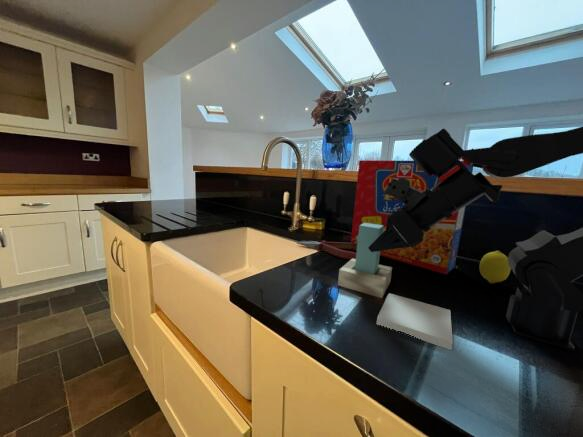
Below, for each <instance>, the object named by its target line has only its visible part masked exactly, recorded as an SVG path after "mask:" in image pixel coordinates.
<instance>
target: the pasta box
mask: <svg viewBox="0 0 583 437" xmlns="http://www.w3.org/2000/svg"><path fill="white" fill-rule="evenodd" d="M459 161H460V162H461V163H462V164H463V165H464V166H465V167H466V168H467V169H468V170H469V171H470V172H471V173H472V174H473V172H474V167H473V166H469V165H467V164H466V163H465V162H464V161H463V160H459ZM459 169H460V168H459V167H458V166H456V167H455V168H453V169H452V170H451V171H449V172H448V173H446V174H445V175H444V176H442V177H440V178H439V179H438V178H437V177H436V176H435V175H433V176H432V177H430V178H429V177H428V176H427V175H426V174H425V173H424V171H423V170H422V169H421V168H420V167H419V166H418V165H417V164H416V163H415V161H414V160H366V159H365V160H363V159H362V160H359V162H358V170H357V171H358V172H357V181H356V188H355V189H356V190H355V198H354V199H355V200H354V208H353V217H352V227H351V237H350V243H354V244H358V235H359V226H360V225H361V224H363V223H370V224H377V225H383V226H384V227H383V232H384V231H385V230H386V223H387V222H386V219H387V218H388V217H389V216H390V215H391V214H393V213H394V212H396V211H397V210H399V209H401V208H402V207H403V206H404V205H405V204H406V203H403V202H402V201H400V200H398V199H396V198H395V197H393V196H389V195H387V194H386V193H384V191H385V189H386V188H387V186H388V183H389V182H391V180H392V178H397V179H400V178H402V177H403V178H405V179H406V180H408V181H411V183H410V186H412V187H414V188H416V189H417V190H419V191H421V192H424V191H425V190H427V189H429V190H430V189H431V188H433V187H434V186H436V185H437V184H438V183H440V182H441V181H443V180H444V179H446V178H447V177H448V176H450V175H451V174H453V173H454V172H456V171H457V170H459ZM466 207H467V205H466V206H465V207H463V208H461V209H460V210H458V209H457V208H456V209H457V210H458V211H456V212H455V213H453V216H451V217H450V218H448V219H447V218H445V219H443V220H442V221H440V222H439V223H437V224H435V225H434V226H432V227H431V229H430V230H428V231H427V232H425V233H424V238H423V242H421V243H419V244H418V245H416V246H414V247H413V248H412V247H409V248H407V247H405V248H397V249H390V250H383V251H380V256H382V257H384V258H388V259H390V260H391V259H392V260H395V261H398V262H402V263H405V264H409V265H412V266H415V267H419V268H422V269H427V270H430V271H433V272H437V273H440V274H444V275H447V274H448V273H450V272H451V271H452V270H453V269H455V265H456V261H457V255H458V251H459V244H460V239H461V235H462V228H463V224H464V219H465V212H466Z"/></svg>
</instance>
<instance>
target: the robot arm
mask: <svg viewBox="0 0 583 437" xmlns="http://www.w3.org/2000/svg"><path fill="white" fill-rule="evenodd" d="M582 154H583V126H580V127H575V128H572V129H568V130H564V131H558V132H556V131H555V132H547V133H537V134H529V135H523V136H522V135H521V136H515V137H509V138H504V139H501V140H498V141H497V142H495V143H494V144H492V145H491V146H489V147H482V148H471V149H463V148H462V147H461V146H460V145H459V144H458V143H457V141H455V139H454V138H453V137H451V135H450V133H449V131H448V130H447V129H446V128H442V129H440V130H439V131H438V132H436V133H434V134H433V135H431V136H429V137H428V138H427V139H423V140H421V142H420V143H418V144H417V145H416V146H415V147H414V148H413V149H411V151H410V152H409V154H408V155H409V157H410V158H411V159H412V161H415V163H416V164H417V165H418V166H419V167H420V168H421V169H422V170H423V171H424V173H425V174H426V175H427V176H428V177H429V178H430V177H432V176H433V175H435V176H436V177H437V178H438V179H439V178H440V177H442V176H444V175H445V174H446V173H448V172H449V171H451V170H452V169H453V168H455V167H456V166H458V167H459V168H460V169H459V170H457V171H456V172H454V173H453V174H451V175H450V176H448V177H447V178H446V179H444V180H443V181H441V182H440V183H438V184H437V185H436V186H434V187H433V188H431V189H430V190H429V189H427V190H425V191H424V192H421V191H419V190H417V189H416V188H414V187H412V186H410V183H411V181H408V180H406V179H405V178H403V177H402V178H400V179H397V178H392V180H391V182H389V183H388V186H387V188H386V189H385V191H384V193H386V194H387V195H389V196H393V197H395V198H396V199H398V200H400V201H402V202H403V203H406V204H405V205H404V206H403V207H402V208H401V209H399V210H397V211H396V212H394V213H393V214H391V215H390V216H389V217H388V218H387V219H386V222H387V223H386V230H385V231H384V232H383V233H382V234H381V235H380V236H379V237H378V238H377V239H376V240H375V241H374V242H373V243H372V244H371V245H370V246H369V247H368V248H369V250H370V251H371V252H376V251H383V250H390V249H397V248H405V247H407V248H409V247H412V248H413V247H414V246H416V245H418V244H419V243H421V242H423V238H424V233H425V232H427V231H428V230H430V229H431V227H432V226H434V225H435V224H437V223H439V222H440V221H442V220H443V219H445V218H447V219H448V218H450V217H451V216H453V213H455V212H456V211H458V210H460V209H461V208H463V207H465V206H466V207H467V205H470V204H471V203H473V202H474V201H476V200H478V199H479V198H481V197H482V196H484V195H485V196H486V197H487V199H488V200H489V201H491V202H494V203H497V202H499V200H500V193H501V190H502V188H503V185H502V184H493V183H492V182H491V181H490V180H489V179H488V178H487V177H486V176H485V175H483V173H482V172H481V171H479V172H477V173H476V174H474V173H473V172H472V173H471V172H470V171H469V170H468V169H467V168H466V167H465V166H464V165H463V164H462V163H461V162H460V161H464V162H465V163H466V164H467V165H469V166H473V168H478V169H482V171H483V172H484V173H485V174H486V175H488V177H489V176H490V177H493V178H496V179H505V178H512V177H516V176H520V175H522V174H525V173H527V172H530V171H533V170H536V169H539V168H543V167H545V166H548V165H550V164H552V163H555V162H558V161H560V160H563V159H566V158H569V157H573V156H577V155H582ZM456 208H457V209H458V210H457V209H456ZM515 244H516V247H515V248H513V249H511V251H510V252H509V253H508V256H507V258H508V264H509V266H510V268H511V271H512V273H514V276H515V277H516V279H517V280H518V281H519V283H521V285H523V287H520V286H517V287H516V291H515V295H514V294H511V295H510V297H509V302H508V306H507V310H506V315H505V317H506V319H507V321H508V323H509V324H510V325H511V328H512V330H513V331H514V333H515V334H516V335H518V336H521V337H525V338H528V339H531V340H536V341H539V342H542V343H545V344H549V345H553V346H556V347H559V348H563V349H566V350H569V351H575V349H576V348H575V345H574V344H573V342H572V341H570V340H571V337H572V334H573V330H574V327H575V324H576V320H577V316H578V313H580V312H581V311H582V310H583V292H581V291H580V289H578V288H577V287H576V285H574V284H573V283H572V282H575V281H576V280H578V279H580V278H581V277H583V227H581V228H579V229H577V230H575V231H574V230H573V231H572V232H569V233H565V234H560V235H553V234H552V233H550V232H547V231H546V230H541V231H539V232H537V233H536V234H534V235H533V236H531V237H530V238H528V239H526V240H523V241H516V242H515Z"/></svg>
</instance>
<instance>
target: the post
mask: <svg viewBox="0 0 583 437" xmlns="http://www.w3.org/2000/svg"><path fill="white" fill-rule="evenodd" d="M383 227H384V226H383V225H377V224H370V223H363V224H361V225H360V226H359V235H358V244H357V250H356V262H355V270H357V271H361V272H365V273H369V274H372V275H377V273H378V265H379V263H380V258H381V257H380V256H381V255H380V251H376V252H371V251H370V250H369V248H368V247H369V246H370V245H371V244H372V243H373V242H374V241H375V240H376V239H377V238H378V237H379V236H380V235H381V234H382V233H383Z"/></svg>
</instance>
